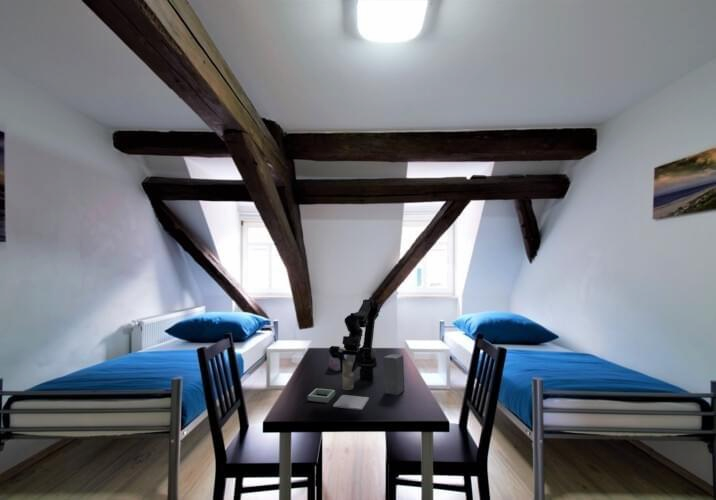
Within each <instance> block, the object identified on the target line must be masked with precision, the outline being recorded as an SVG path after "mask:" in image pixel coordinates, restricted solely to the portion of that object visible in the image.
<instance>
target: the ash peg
mask: <svg viewBox="0 0 716 500" xmlns="http://www.w3.org/2000/svg"><path fill="white" fill-rule="evenodd" d="M353 364H354V360H353V359H348V358H347V359H346V360H343V371H342V389H343V390H346V391H350V390H353V389H354V372H352V368H353Z"/></svg>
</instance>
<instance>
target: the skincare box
mask: <svg viewBox="0 0 716 500" xmlns="http://www.w3.org/2000/svg"><path fill="white" fill-rule="evenodd" d="M383 373H384V374H383V375H384V377H383V379H384V394H390V395H395V396H399V395H400V394H401V393H403V392H404V391H405V390H406V387H405V369H404V354H393V353H391V354H389V355H386V356H383Z"/></svg>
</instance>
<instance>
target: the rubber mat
mask: <svg viewBox="0 0 716 500" xmlns="http://www.w3.org/2000/svg"><path fill="white" fill-rule="evenodd" d="M369 400H370V397H368V396H358V395H349V394H342V395H341V396H340V397H339V398H338V399H337V401H335V403H333V405H332V407H333V408H338V409H339V408H341V409H349V410H357V411H359V410H360V411H363V409H364V407H365V406H366V404H367V403H368V401H369Z"/></svg>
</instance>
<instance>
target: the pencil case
mask: <svg viewBox="0 0 716 500" xmlns="http://www.w3.org/2000/svg"><path fill="white" fill-rule="evenodd" d="M339 348H340V349H343V350H345V349H346V348H344V346H339ZM348 356H349V355H345V356H344V357H345V360H348ZM328 365H329V367H330V369H331V370H333V371H335V372H338V371H341V368H340V360H339V359H338V358H332V357H331V356H330V357H329V360H328Z"/></svg>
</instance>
